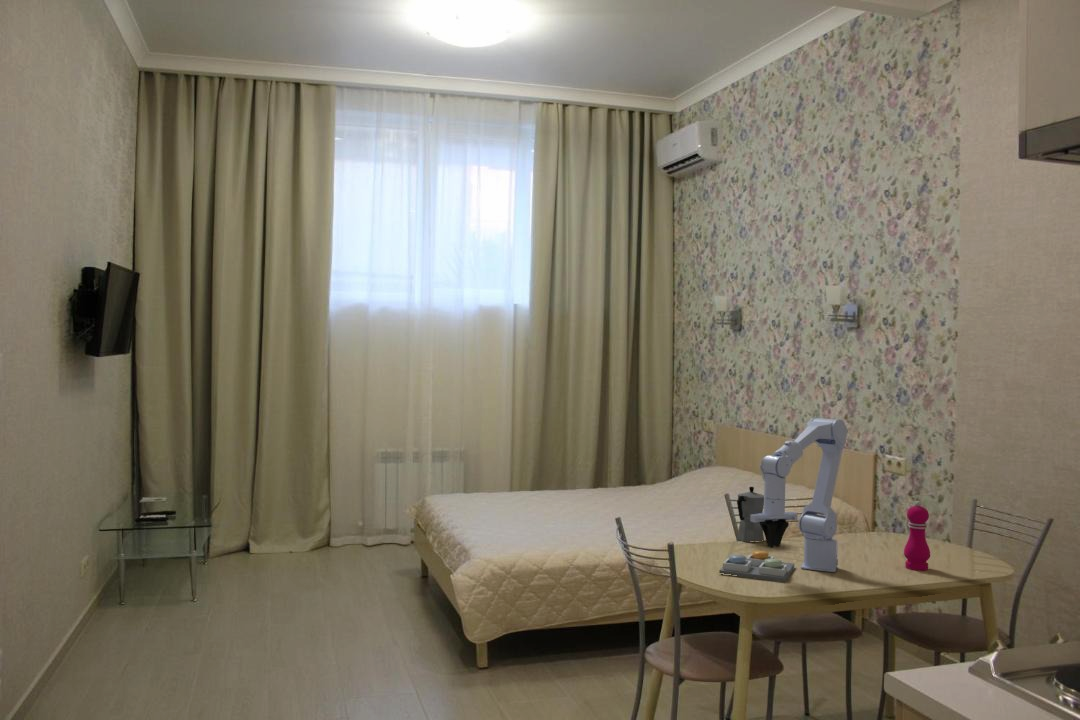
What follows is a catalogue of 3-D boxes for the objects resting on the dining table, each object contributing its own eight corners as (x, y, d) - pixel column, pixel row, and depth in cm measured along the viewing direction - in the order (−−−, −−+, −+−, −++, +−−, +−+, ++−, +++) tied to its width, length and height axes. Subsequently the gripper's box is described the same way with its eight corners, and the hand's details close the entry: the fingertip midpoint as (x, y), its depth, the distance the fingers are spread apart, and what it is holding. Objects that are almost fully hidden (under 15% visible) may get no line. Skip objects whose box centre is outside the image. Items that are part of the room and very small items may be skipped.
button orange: (769, 557, 256) (769, 551, 256) (767, 560, 252) (767, 554, 252) (753, 555, 258) (753, 549, 258) (750, 558, 254) (751, 553, 254)
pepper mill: (935, 569, 257) (936, 502, 257) (919, 572, 253) (920, 503, 253) (914, 564, 263) (915, 498, 263) (898, 566, 260) (899, 499, 260)
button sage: (782, 565, 246) (782, 559, 246) (780, 569, 242) (780, 563, 242) (766, 563, 248) (766, 557, 248) (763, 567, 244) (763, 561, 244)
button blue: (746, 561, 250) (746, 555, 250) (743, 565, 246) (743, 559, 246) (730, 559, 252) (730, 554, 252) (727, 563, 248) (727, 557, 248)
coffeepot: (747, 535, 303) (748, 483, 303) (772, 539, 296) (773, 486, 296) (724, 541, 291) (725, 487, 291) (750, 545, 285) (751, 490, 285)
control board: (794, 567, 256) (794, 557, 256) (784, 582, 239) (785, 571, 239) (732, 560, 263) (732, 550, 263) (719, 574, 246) (719, 563, 246)
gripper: (786, 495, 251) (785, 542, 251) (744, 497, 246) (743, 545, 246) (802, 499, 244) (801, 547, 245) (759, 501, 239) (758, 550, 239)
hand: (773, 546), depth 245 cm, fingers closed
